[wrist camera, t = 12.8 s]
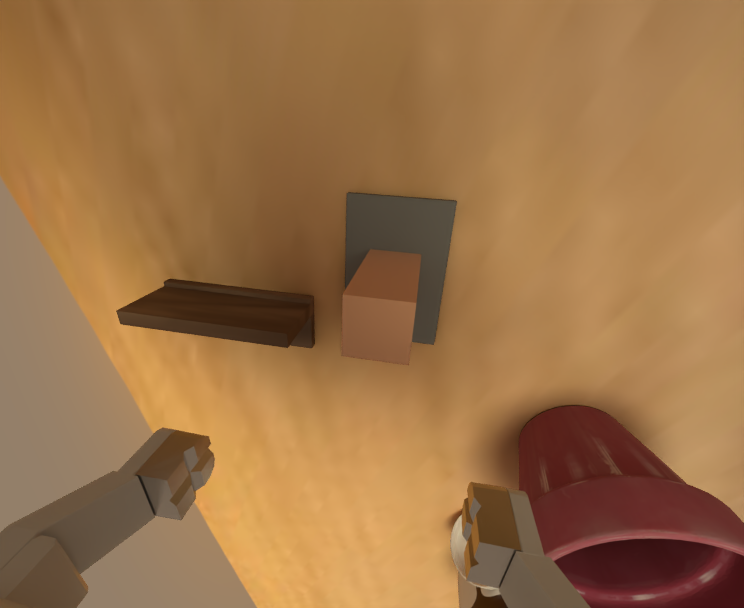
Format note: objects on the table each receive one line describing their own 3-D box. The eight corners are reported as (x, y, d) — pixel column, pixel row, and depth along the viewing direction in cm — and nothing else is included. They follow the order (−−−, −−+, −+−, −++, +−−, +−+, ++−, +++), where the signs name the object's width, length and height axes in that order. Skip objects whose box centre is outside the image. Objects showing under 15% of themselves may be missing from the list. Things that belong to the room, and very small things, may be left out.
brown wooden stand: (169, 278, 31) (114, 306, 26) (313, 296, 29) (286, 329, 24) (180, 325, 33) (131, 359, 28) (314, 343, 31) (290, 384, 26)
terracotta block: (370, 249, 26) (342, 294, 18) (421, 254, 25) (416, 303, 17) (367, 295, 28) (341, 355, 20) (415, 301, 27) (408, 365, 19)
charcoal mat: (348, 192, 25) (346, 193, 24) (456, 200, 24) (456, 201, 23) (345, 329, 30) (344, 332, 30) (434, 341, 29) (433, 344, 29)
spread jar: (498, 577, 42) (520, 717, 32) (421, 539, 42) (418, 670, 31) (565, 534, 37) (617, 686, 26) (478, 490, 36) (497, 628, 26)
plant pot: (682, 387, 27) (863, 561, 16) (631, 499, 33) (737, 684, 22) (500, 375, 29) (543, 519, 18) (483, 481, 35) (508, 640, 24)
